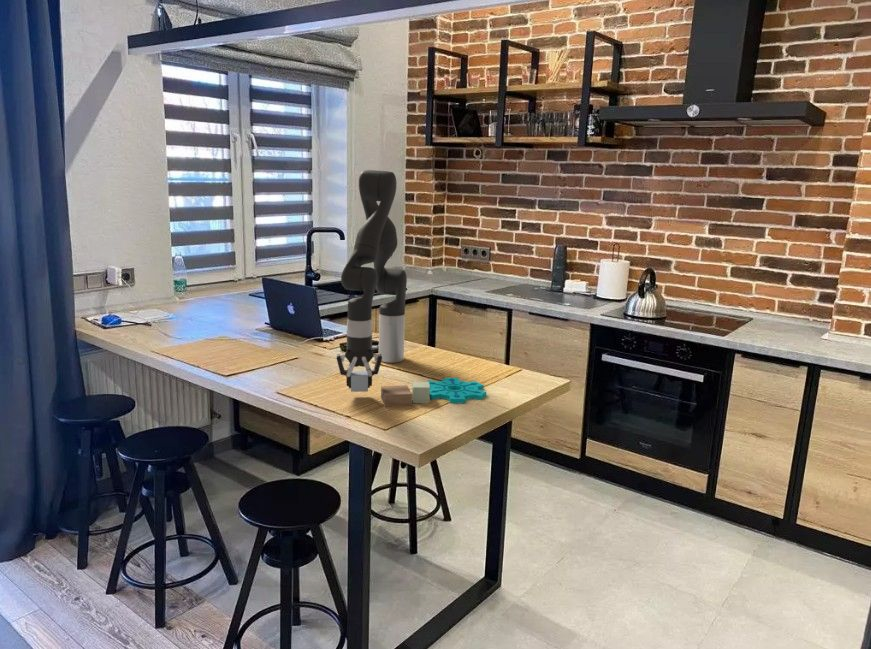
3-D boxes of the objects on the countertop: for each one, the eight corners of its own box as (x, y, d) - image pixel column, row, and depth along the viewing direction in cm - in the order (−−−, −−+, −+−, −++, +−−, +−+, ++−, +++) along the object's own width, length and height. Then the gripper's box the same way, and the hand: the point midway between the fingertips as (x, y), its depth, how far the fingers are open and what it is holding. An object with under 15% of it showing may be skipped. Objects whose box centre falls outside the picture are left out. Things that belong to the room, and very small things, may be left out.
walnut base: (380, 398, 200) (381, 386, 199) (406, 397, 202) (406, 385, 201) (385, 408, 192) (385, 395, 191) (411, 406, 194) (412, 393, 193)
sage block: (428, 397, 202) (411, 397, 201) (428, 382, 201) (412, 381, 200) (429, 403, 197) (412, 403, 196) (429, 387, 196) (413, 387, 195)
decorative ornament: (489, 404, 199) (480, 382, 218) (489, 399, 198) (480, 378, 218) (424, 403, 197) (421, 381, 216) (425, 398, 197) (421, 377, 216)
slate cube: (350, 386, 201) (350, 370, 200) (367, 385, 202) (367, 370, 200) (351, 391, 196) (351, 375, 195) (367, 391, 197) (368, 375, 196)
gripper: (382, 329, 199) (382, 382, 203) (335, 330, 197) (335, 383, 201) (384, 336, 192) (383, 391, 196) (335, 336, 190) (335, 392, 194)
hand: (359, 387), depth 199 cm, fingers closed on slate cube, 5 cm apart
